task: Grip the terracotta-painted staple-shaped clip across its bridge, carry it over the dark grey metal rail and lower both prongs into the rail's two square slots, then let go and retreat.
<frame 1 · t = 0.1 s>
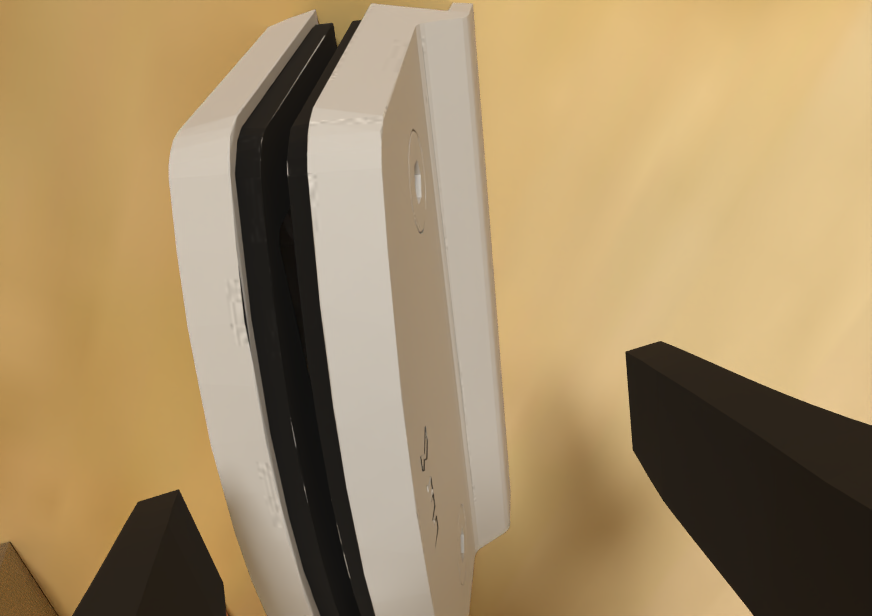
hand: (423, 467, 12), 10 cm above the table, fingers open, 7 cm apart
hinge: (364, 309, 22), on the table
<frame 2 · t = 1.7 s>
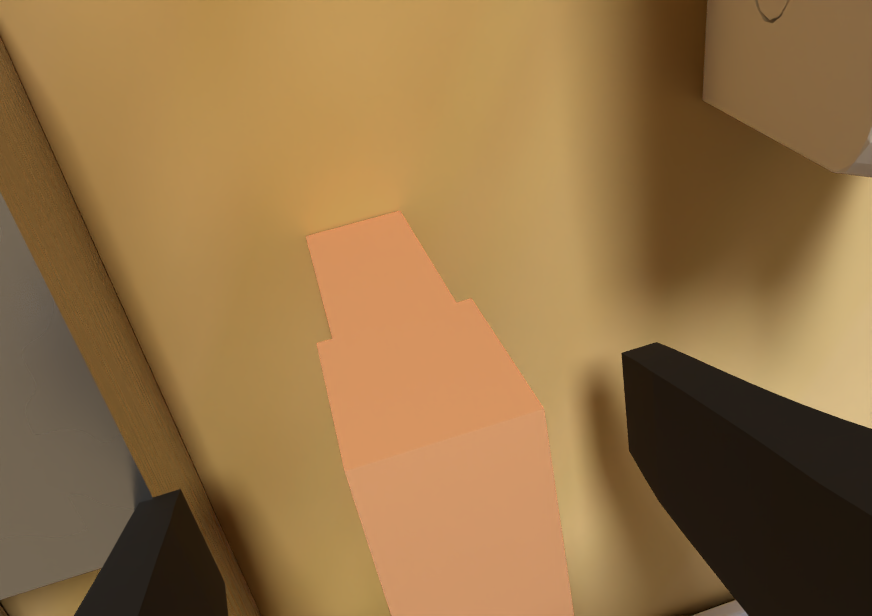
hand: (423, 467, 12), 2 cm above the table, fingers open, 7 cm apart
clip: (395, 385, 14), on the table
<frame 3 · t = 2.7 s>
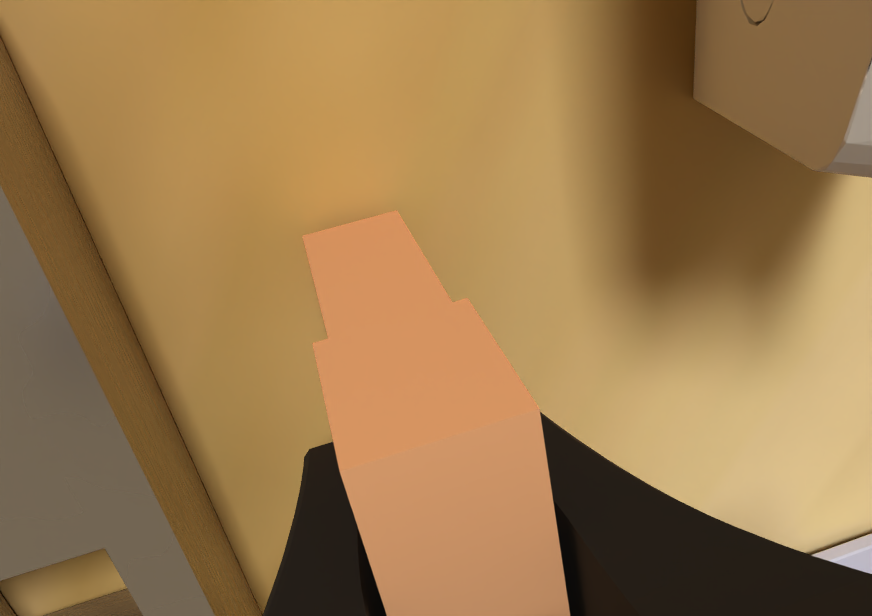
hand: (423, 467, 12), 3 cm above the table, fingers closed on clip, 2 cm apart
clip: (392, 385, 14), on the table, touching gripper
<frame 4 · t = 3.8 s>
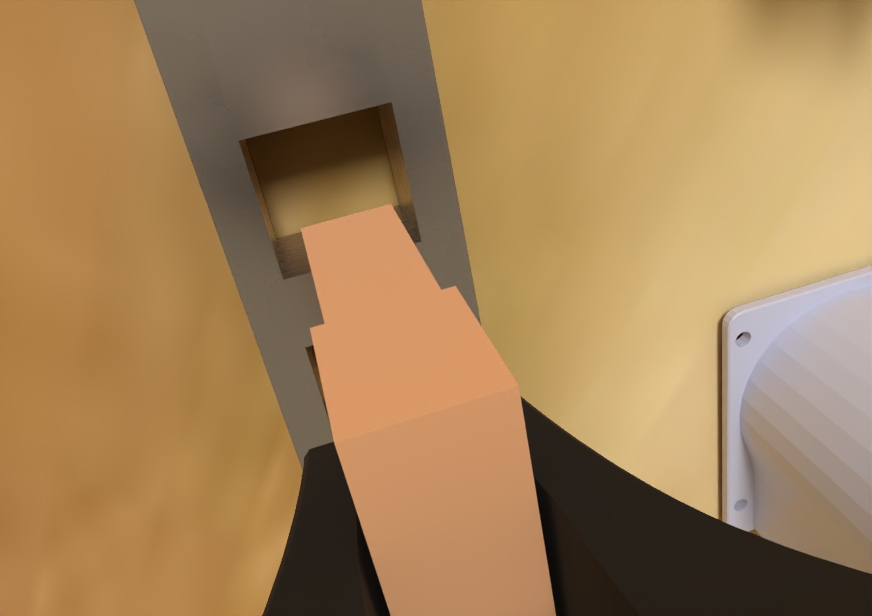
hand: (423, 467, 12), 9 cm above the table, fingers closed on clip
rail: (347, 253, 20), on the table
clip: (387, 371, 15), point 6 cm above the table, touching gripper
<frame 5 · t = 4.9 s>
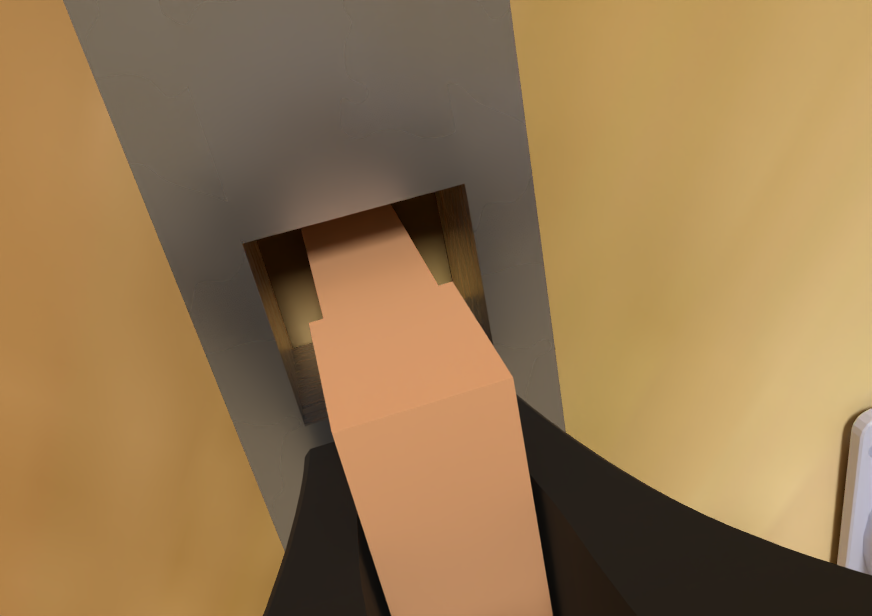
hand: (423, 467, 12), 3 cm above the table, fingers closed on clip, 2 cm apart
rail: (386, 363, 15), on the table
clip: (386, 369, 15), on the table, touching gripper
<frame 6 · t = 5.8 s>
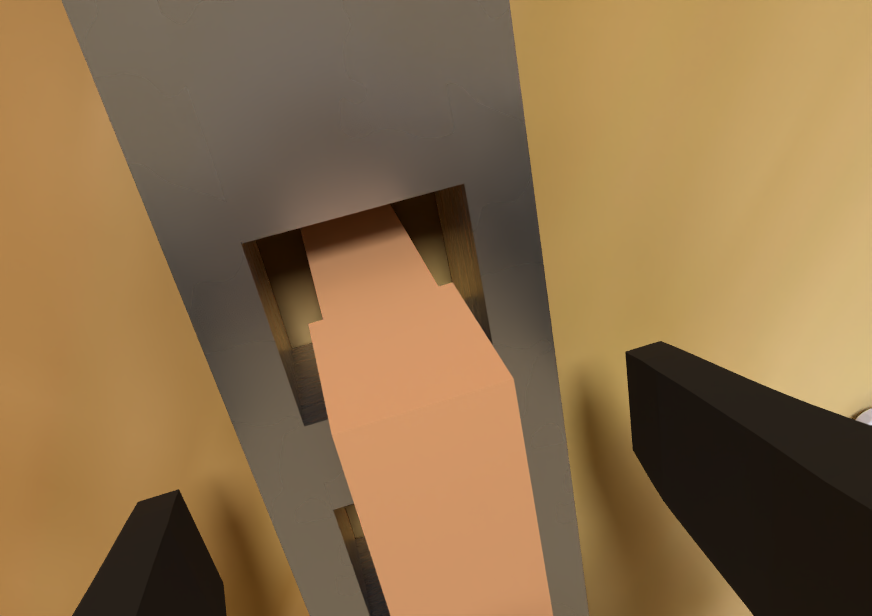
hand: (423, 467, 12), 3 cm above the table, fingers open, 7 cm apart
rail: (385, 363, 15), on the table
clip: (386, 369, 15), on the table
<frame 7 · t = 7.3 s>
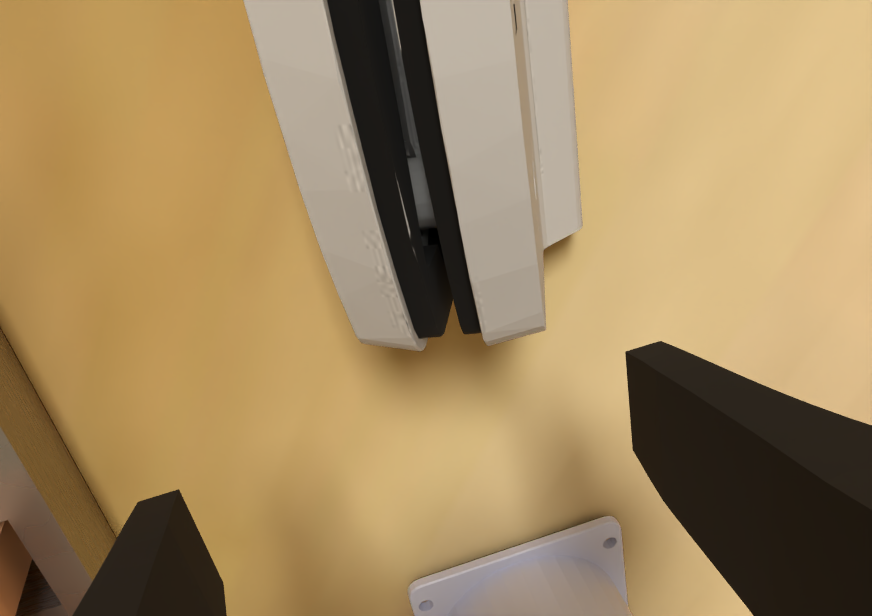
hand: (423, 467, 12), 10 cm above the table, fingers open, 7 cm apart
rail: (36, 577, 23), on the table
clip: (37, 580, 23), on the table
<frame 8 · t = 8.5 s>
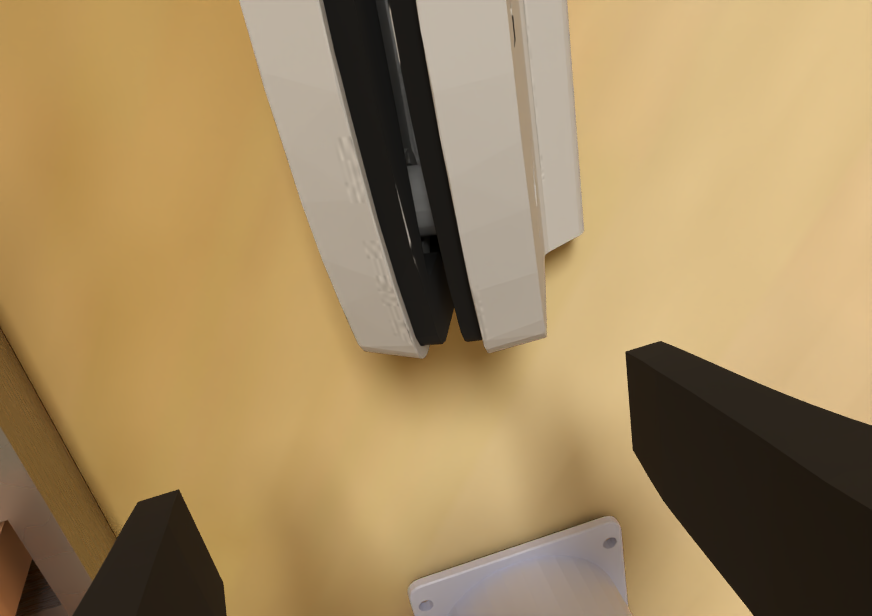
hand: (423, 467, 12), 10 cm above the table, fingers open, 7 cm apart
rail: (36, 577, 23), on the table
clip: (37, 580, 23), on the table
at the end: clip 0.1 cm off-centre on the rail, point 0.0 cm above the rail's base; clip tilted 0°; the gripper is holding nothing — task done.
